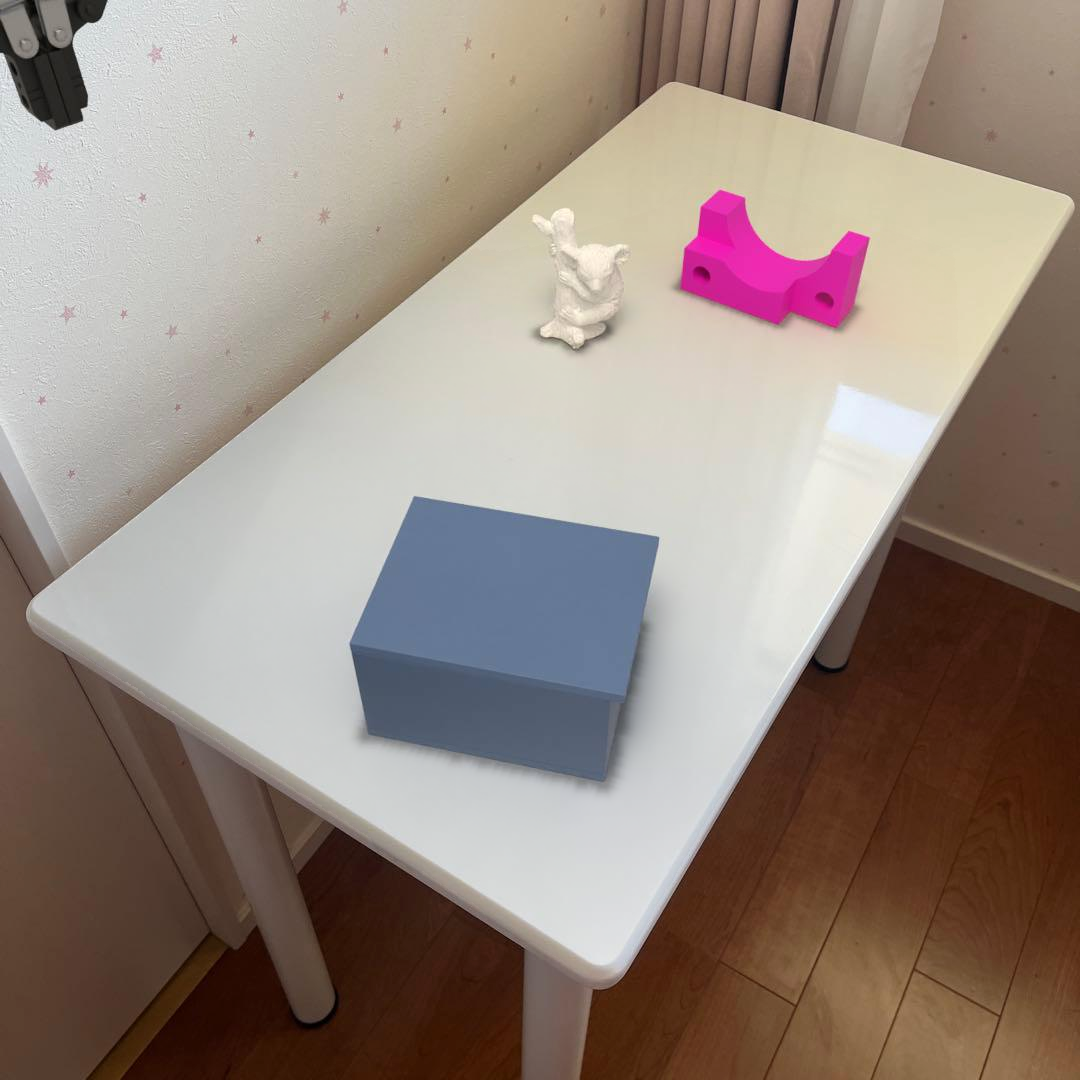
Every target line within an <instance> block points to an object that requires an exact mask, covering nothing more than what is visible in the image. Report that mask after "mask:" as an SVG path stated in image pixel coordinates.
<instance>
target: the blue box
mask: <svg viewBox="0 0 1080 1080" xmlns="http://www.w3.org/2000/svg"><path fill="white" fill-rule="evenodd" d="M350 651H351V650H350ZM350 653H351V657H352V662H353V666H354V672H355V677H356V682H357V686H358V691H359V695H360V700H361V705H362V710H363V714H364V715H363V716H364V720H365V725H366V729H367V734H368V735H371V736H377V737H381V738H386V739H391V740H397V741H401V742H406V743H411V744H416V745H421V746H426V747H430V748H435V749H440V750H446V751H450V752H454V753H455V752H456V753H460V754H466V755H470V756H476V757H481V758H486V759H491V760H495V761H500V762H506V763H510V764H515V765H521V766H524V767H529V768H535V769H541V770H545V771H550V772H554V773H555V772H556V773H560V774H565V775H570V776H575V777H579V778H584V779H590V780H595V781H599V782H605V780H606V775H607V771H608V766H609V762H610V757H611V753H612V749H613V748H612V747H613V744H614V738H615V734H616V729H617V726H618V720H619V716H620V712H621V707H622V703H620V702H615V701H610V700H605V699H599V698H594V697H589V696H584V695H578V694H573V693H568V692H563V691H557V690H552V689H547V688H542V687H536V686H531V685H526V684H521V683H515V682H510V681H505V680H500V679H494V678H489V677H484V676H479V675H473V674H468V673H463V672H458V671H453V670H447V669H442V668H437V667H432V666H426V665H421V664H416V663H411V662H405V661H400V660H395V659H390V658H384V657H379V656H374V655H369V654H363V653H358V652H353V651H351V652H350Z"/></svg>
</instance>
